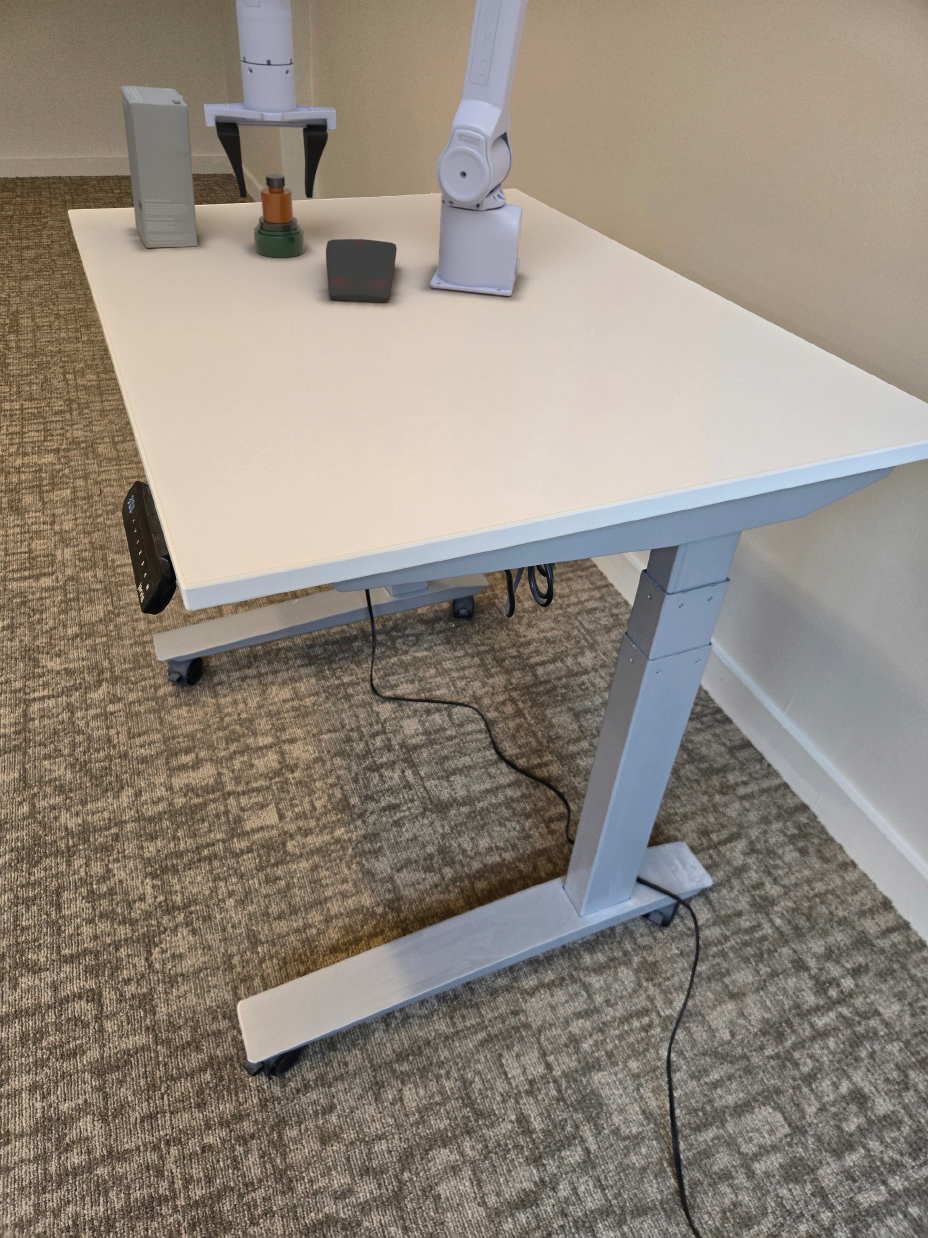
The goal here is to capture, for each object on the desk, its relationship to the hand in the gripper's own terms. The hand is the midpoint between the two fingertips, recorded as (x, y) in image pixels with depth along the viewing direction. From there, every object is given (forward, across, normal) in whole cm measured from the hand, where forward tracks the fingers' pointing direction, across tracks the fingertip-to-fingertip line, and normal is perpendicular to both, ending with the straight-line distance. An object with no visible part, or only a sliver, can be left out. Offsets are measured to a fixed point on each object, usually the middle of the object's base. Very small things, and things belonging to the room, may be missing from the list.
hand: (276, 195), depth 103 cm
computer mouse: (+6, +8, -12) cm, 16 cm away
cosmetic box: (+6, -13, +5) cm, 15 cm away
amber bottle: (+3, 0, 0) cm, 3 cm away
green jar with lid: (+6, 0, 0) cm, 6 cm away
